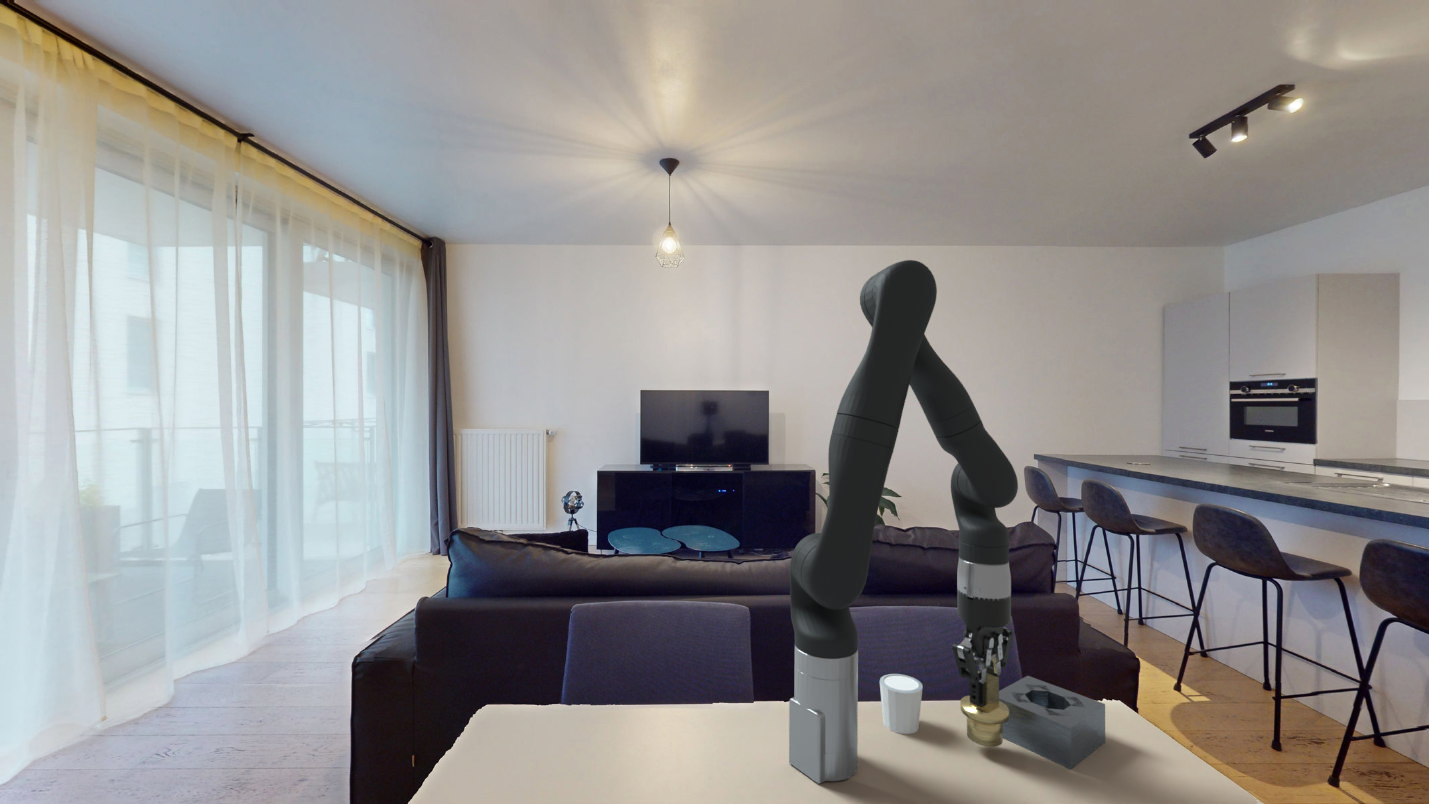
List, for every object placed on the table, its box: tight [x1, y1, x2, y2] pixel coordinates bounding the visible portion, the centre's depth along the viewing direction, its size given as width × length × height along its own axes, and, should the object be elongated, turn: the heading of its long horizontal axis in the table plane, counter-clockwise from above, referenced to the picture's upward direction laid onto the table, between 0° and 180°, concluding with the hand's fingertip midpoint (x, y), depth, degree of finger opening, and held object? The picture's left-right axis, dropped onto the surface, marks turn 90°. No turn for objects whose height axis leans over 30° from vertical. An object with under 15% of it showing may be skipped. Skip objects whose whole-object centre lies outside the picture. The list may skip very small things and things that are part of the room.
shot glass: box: [879, 673, 923, 735], centre depth 98 cm, size 7×7×7 cm
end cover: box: [959, 670, 1009, 748], centre depth 90 cm, size 7×7×9 cm
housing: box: [999, 675, 1106, 770], centre depth 94 cm, size 12×12×6 cm
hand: (983, 700), depth 90 cm, fingers closed on end cover, 3 cm apart
